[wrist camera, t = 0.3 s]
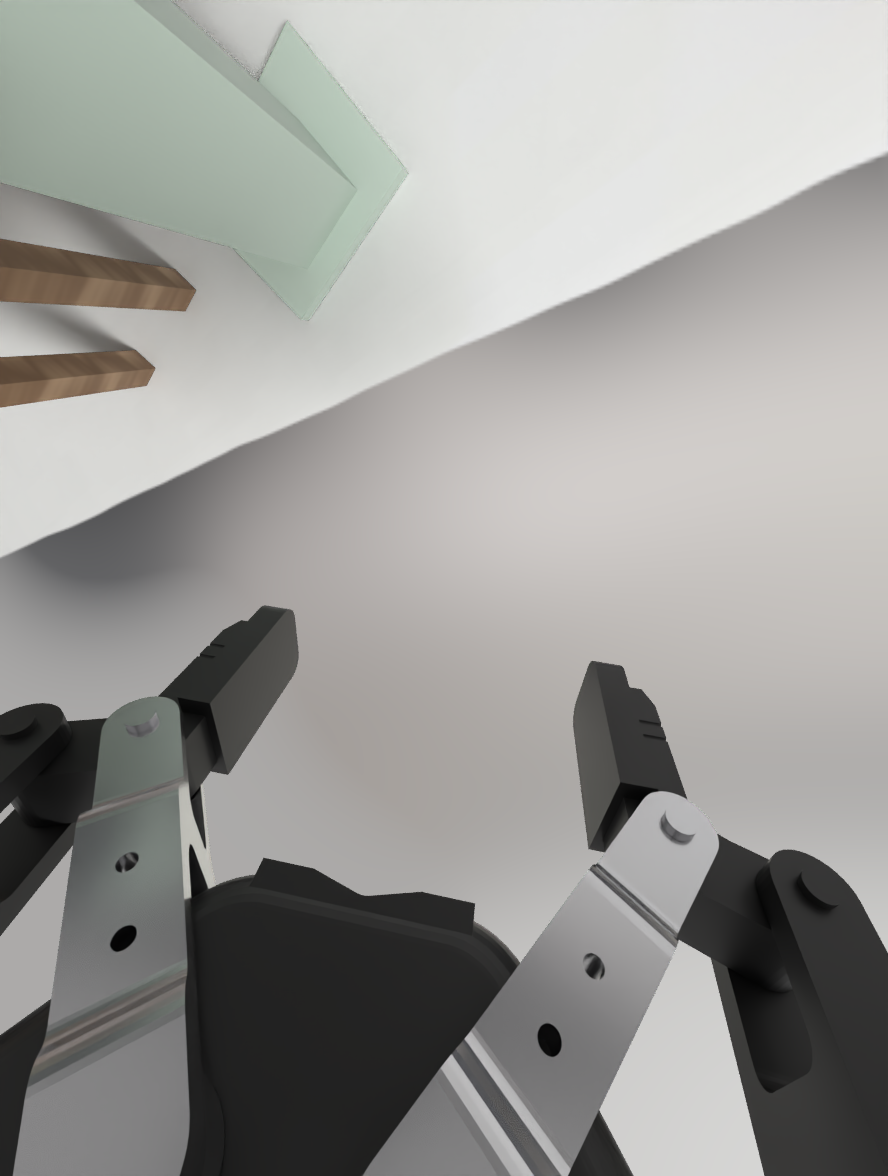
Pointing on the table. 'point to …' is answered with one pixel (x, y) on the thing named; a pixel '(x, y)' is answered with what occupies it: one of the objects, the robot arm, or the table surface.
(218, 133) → the tall pedestal
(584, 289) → the table surface
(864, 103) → the table surface
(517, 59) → the table surface
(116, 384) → the low stand
